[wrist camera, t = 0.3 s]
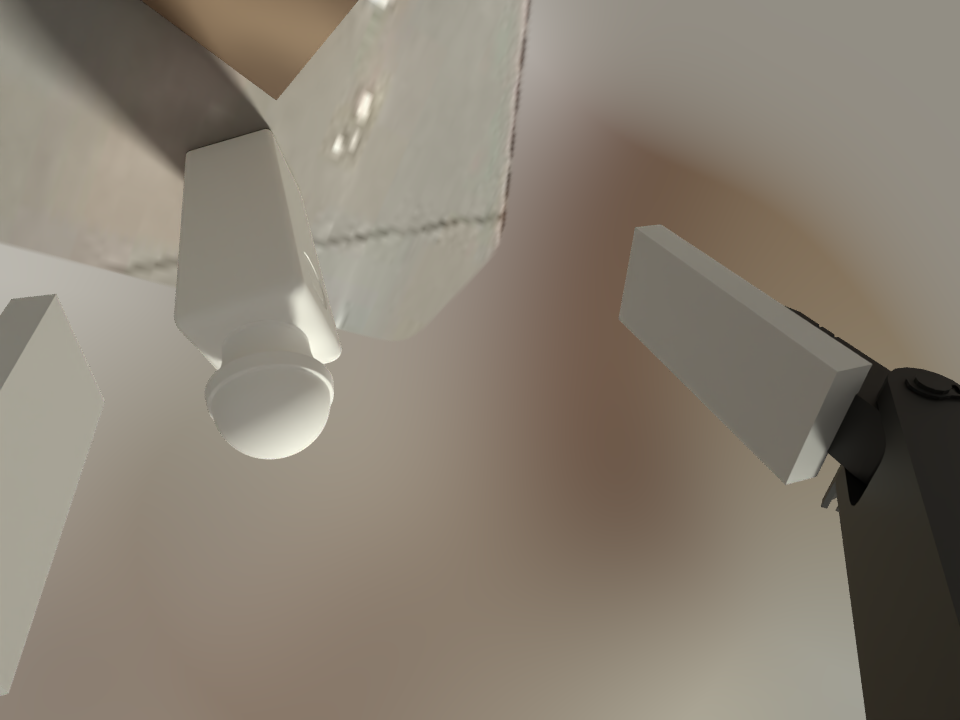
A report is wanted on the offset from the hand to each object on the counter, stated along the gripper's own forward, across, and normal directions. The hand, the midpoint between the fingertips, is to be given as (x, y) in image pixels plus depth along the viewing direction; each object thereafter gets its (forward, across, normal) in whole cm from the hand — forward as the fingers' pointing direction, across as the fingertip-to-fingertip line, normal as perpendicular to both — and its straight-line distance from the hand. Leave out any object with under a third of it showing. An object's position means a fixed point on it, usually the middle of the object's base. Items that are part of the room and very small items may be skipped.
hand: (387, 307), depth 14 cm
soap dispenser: (+30, -4, -5) cm, 31 cm away
